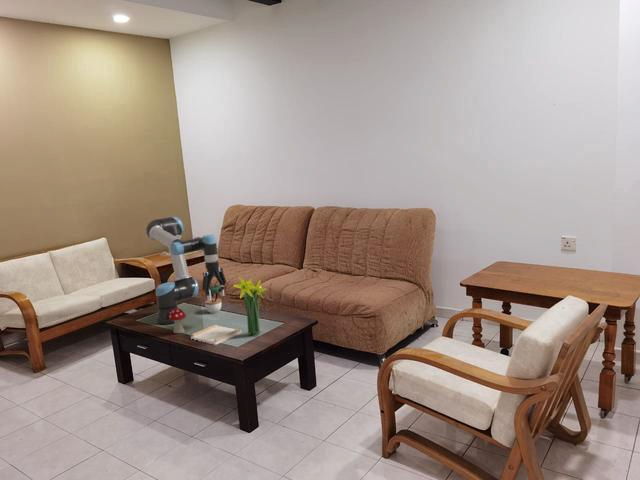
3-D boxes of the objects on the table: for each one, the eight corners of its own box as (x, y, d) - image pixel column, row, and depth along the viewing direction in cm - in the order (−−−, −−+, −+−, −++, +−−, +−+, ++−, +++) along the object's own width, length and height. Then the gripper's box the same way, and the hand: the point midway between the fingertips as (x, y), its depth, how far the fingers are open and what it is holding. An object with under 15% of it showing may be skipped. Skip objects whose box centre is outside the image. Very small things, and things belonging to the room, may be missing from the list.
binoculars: (222, 303, 296) (220, 286, 295) (205, 304, 298) (203, 287, 297) (227, 299, 305) (226, 283, 303) (211, 299, 307) (209, 283, 305)
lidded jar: (210, 309, 342) (208, 296, 340) (225, 309, 339) (223, 295, 338) (203, 314, 331) (201, 300, 330) (218, 314, 329) (217, 300, 327)
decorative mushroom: (190, 330, 302) (187, 306, 299) (183, 335, 294) (180, 310, 291) (174, 330, 304) (171, 306, 301) (167, 335, 295) (164, 311, 293)
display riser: (190, 339, 287) (190, 334, 286) (217, 328, 303) (216, 323, 302) (215, 344, 275) (215, 340, 275) (241, 332, 291) (240, 328, 291)
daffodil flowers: (258, 327, 298) (252, 269, 293) (274, 332, 288) (269, 272, 282) (235, 336, 287) (228, 275, 281) (251, 341, 276) (245, 279, 271)
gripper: (201, 265, 286) (206, 303, 290) (229, 257, 304) (233, 293, 308) (192, 265, 290) (197, 302, 294) (220, 257, 309) (224, 292, 312)
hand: (216, 298), depth 301 cm, fingers closed on binoculars, 10 cm apart
